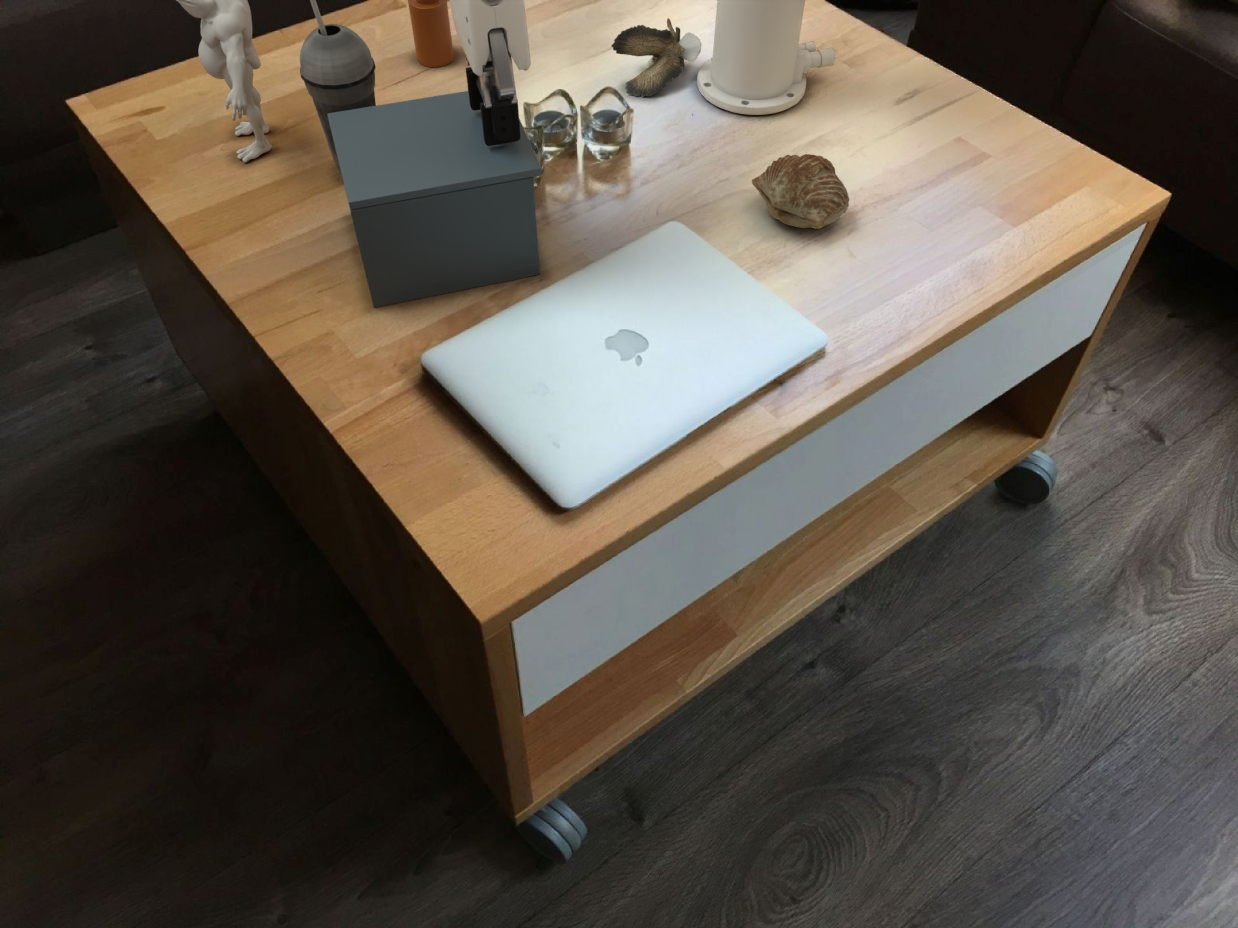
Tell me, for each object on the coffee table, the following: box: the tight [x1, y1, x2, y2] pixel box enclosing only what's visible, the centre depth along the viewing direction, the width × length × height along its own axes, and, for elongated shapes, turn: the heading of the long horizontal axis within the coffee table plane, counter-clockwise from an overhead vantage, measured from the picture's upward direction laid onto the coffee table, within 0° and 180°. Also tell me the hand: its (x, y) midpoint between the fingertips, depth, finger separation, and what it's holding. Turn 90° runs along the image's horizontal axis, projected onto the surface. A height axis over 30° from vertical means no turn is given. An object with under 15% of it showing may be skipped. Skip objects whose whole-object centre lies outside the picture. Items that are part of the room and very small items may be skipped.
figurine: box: [175, 0, 272, 163], centre depth 104 cm, size 18×7×18 cm, turn 16°
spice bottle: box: [407, 0, 455, 68], centre depth 119 cm, size 4×4×10 cm
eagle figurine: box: [610, 17, 702, 98], centre depth 118 cm, size 8×7×9 cm
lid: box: [327, 76, 543, 210], centre depth 90 cm, size 17×14×5 cm
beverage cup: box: [299, 0, 377, 178], centre depth 101 cm, size 7×7×20 cm
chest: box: [349, 177, 541, 308], centre depth 96 cm, size 16×14×11 cm
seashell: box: [751, 153, 850, 230], centre depth 101 cm, size 9×7×8 cm
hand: (494, 122), depth 92 cm, fingers closed on lid, 5 cm apart
